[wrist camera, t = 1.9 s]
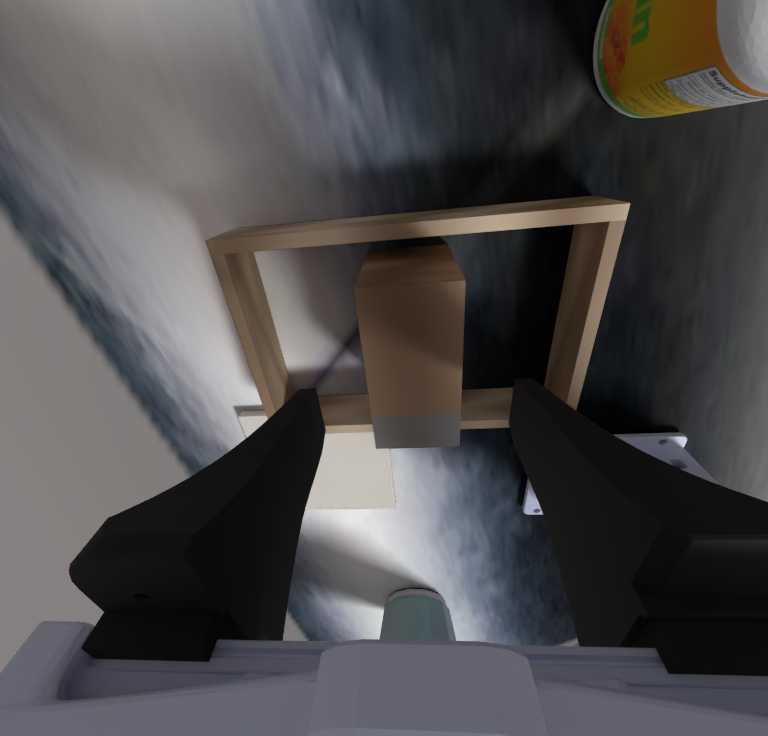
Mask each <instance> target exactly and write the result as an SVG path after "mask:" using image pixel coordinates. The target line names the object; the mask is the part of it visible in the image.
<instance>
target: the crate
mask: <svg viewBox="0 0 768 736" xmlns="http://www.w3.org/2000/svg"><path fill="white" fill-rule="evenodd" d="M629 207H630V203H627V202H622V201H617V200H612V199H607V198H602V197H597V196H586V197H575V198H564V199H553V200H542V201H531V202H520V203H509V204H498V205H487V206H476V207H465V208H455V209H444V210H433V211H422V212H411V213H400V214H389V215H378V216H367V217H356V218H345V219H334V220H323V221H312V222H301V223H291V224H280V225H269V226H258V227H247V228H236V229H233V230H230V231H228V232H226V233H223V234H221V235H218V236H216V237H214V238H211V239H209V240H206V244H207V247H208V250H209V252H210V255H211V258H212V261H213V264H214V267H215V270H216V272H217V275H218V278H219V281H220V284H221V287H222V290H223V293H224V295H225V298H226V301H227V304H228V307H229V310H230V313H231V316H232V318H233V321H234V324H235V327H236V330H237V333H238V336H239V338H240V341H241V344H242V347H243V350H244V353H245V356H246V359H247V361H248V364H249V367H250V370H251V373H252V376H253V379H254V381H255V384H256V387H257V390H258V393H259V396H260V399H261V402H262V404H263V407H264V410H265V413H266V416H267V419H269V418H270V417H271V416H272V415H273V414H274V413H275V412H276V411H277V410H278V409H280V408H281V407H282V406H283V405H284V404H285V403H286V402H287V401H288V400H289V399H290V398H291V397H292V396H293V395H294V394H293V390H292V387H291V383H290V380H289V376H288V372H287V369H286V365H285V362H284V358H283V355H282V351H281V348H280V344H279V341H278V337H277V334H276V330H275V326H274V323H273V319H272V316H271V312H270V309H269V305H268V302H267V298H266V295H265V291H264V288H263V284H262V281H261V277H260V273H259V270H258V266H257V263H256V259H255V256H254V252H253V251H265V250H277V249H289V248H301V247H312V246H324V245H336V244H348V243H360V242H371V241H383V240H395V239H407V238H419V237H431V236H442V235H454V234H466V233H478V232H490V231H501V230H513V229H525V228H537V227H549V226H561V225H572V224H574V229H573V235H572V240H571V245H570V250H569V256H568V261H567V266H566V272H565V277H564V282H563V287H562V293H561V298H560V303H559V309H558V314H557V319H556V324H555V330H554V335H553V340H552V346H551V351H550V356H549V361H548V367H547V372H546V377H545V382H544V387H545V388H547V389H548V390H549V391H551V392H552V393H553V394H554V395H556V396H557V397H558V398H560V399H561V400H562V401H564V402H565V403H566V404H568V405H569V406H571V407H572V408H573V409H575V410H576V409H577V405H578V402H579V398H580V394H581V390H582V386H583V383H584V379H585V375H586V371H587V367H588V363H589V360H590V356H591V352H592V348H593V344H594V341H595V337H596V333H597V329H598V325H599V321H600V318H601V314H602V310H603V306H604V302H605V299H606V295H607V291H608V287H609V283H610V279H611V276H612V272H613V268H614V264H615V260H616V257H617V253H618V249H619V245H620V241H621V237H622V234H623V230H624V226H625V222H626V218H627V215H628V211H629ZM512 394H513V388H493V389H470V390H462V397H461V424H460V429H482V428H510V427H509V417H510V409H511V402H512ZM318 400H319V404H320V408H321V412H322V416H323V420H324V425H325V429H326V432H325V434H332V433H362V432H373V424H372V417H371V410H370V403H369V396H368V394H355V395H332V396H318Z"/></svg>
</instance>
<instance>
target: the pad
mask: <svg viewBox="0 0 768 736" xmlns="http://www.w3.org/2000/svg"><path fill="white" fill-rule="evenodd" d="M238 418H239V420H240V423H241V425H242V428H243V430H244V433H245V435H246V438H247V437H248V436H250V435H251V434H252V433H253V432H254V431H255V430H257V429H258V428H259V427H260V426H261V425H262V424H263V423H265V422H266V421H267V420H268V419H267V416H266V413H265V410H260V411H241V413H240V415H239V416H238ZM324 509H396V496H395V487H394V478H393V469H392V460H391V451H390V449H376V446H375V439H374V432H362V433H332V434H325V438H324V445H323V450H322V455H321V458H320V462H319V465H318V468H317V472H316V475H315V478H314V481H313V485H312V488H311V491H310V494H309V498H308V501H307V504H306V507H305V510H324Z"/></svg>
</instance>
